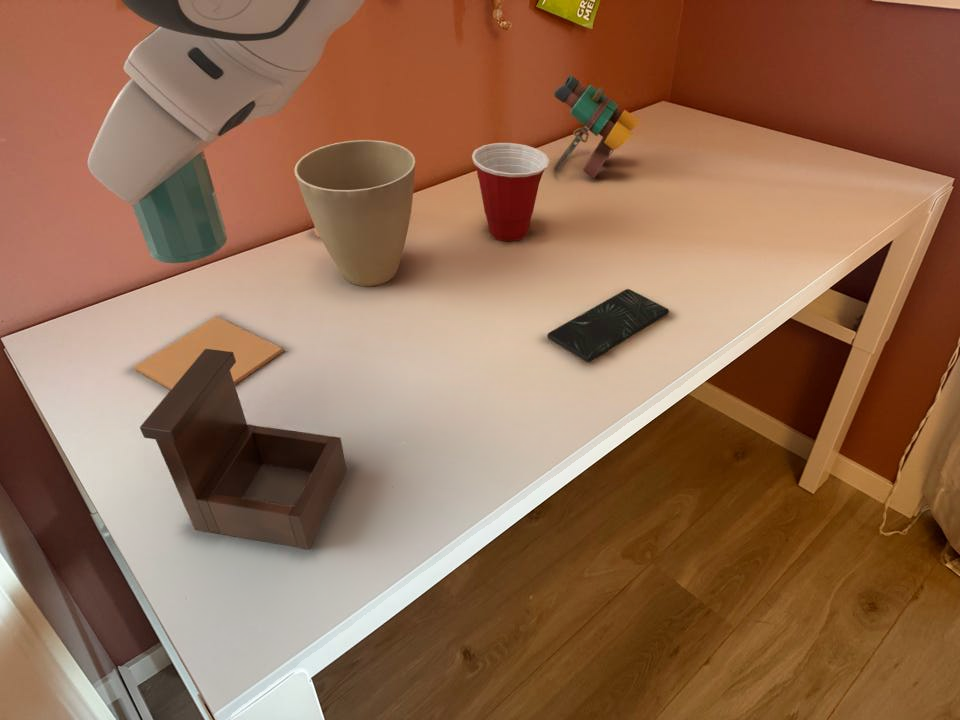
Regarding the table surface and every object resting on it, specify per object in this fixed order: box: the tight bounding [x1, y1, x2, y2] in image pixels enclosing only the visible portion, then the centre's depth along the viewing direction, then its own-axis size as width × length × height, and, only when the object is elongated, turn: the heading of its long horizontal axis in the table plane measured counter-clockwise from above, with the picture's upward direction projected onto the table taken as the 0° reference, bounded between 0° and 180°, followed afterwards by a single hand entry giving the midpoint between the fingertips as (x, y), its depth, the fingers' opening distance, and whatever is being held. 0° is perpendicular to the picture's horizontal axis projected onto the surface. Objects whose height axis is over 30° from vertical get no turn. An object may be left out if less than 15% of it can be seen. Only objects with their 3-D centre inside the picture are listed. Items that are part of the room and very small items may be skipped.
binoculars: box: [552, 74, 641, 179], centre depth 120 cm, size 14×14×15 cm
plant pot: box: [293, 139, 416, 287], centre depth 94 cm, size 15×15×16 cm
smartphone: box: [547, 288, 670, 364], centre depth 87 cm, size 7×1×15 cm
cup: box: [101, 120, 228, 264], centre depth 58 cm, size 6×6×11 cm
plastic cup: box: [471, 142, 550, 242], centre depth 103 cm, size 11×11×12 cm
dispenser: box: [139, 349, 348, 550], centre depth 64 cm, size 12×10×13 cm
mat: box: [133, 316, 284, 391], centre depth 84 cm, size 12×12×1 cm
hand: (158, 173), depth 57 cm, fingers closed on cup, 6 cm apart
